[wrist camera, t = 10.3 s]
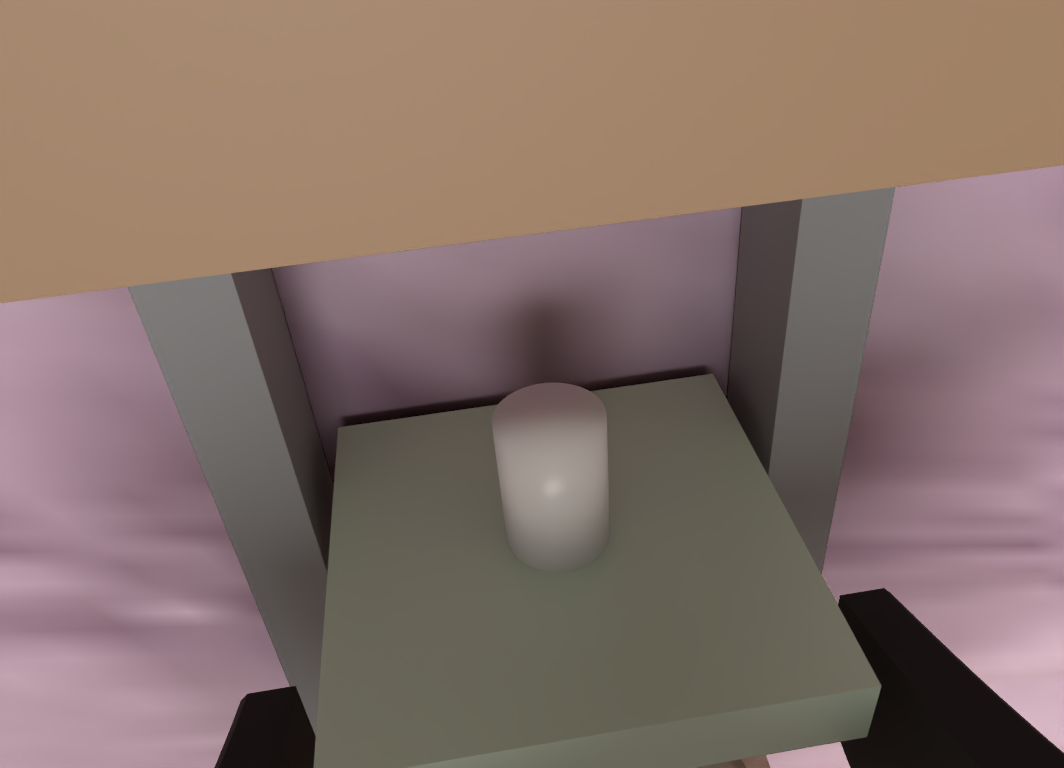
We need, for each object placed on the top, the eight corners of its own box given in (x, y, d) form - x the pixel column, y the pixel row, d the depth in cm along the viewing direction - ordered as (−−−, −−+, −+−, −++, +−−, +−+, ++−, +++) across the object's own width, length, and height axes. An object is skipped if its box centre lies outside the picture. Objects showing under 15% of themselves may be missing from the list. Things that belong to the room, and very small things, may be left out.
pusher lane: (775, 618, 19) (977, 1060, 12) (319, 693, 18) (283, 1201, 12) (908, -271, 10) (1981, -355, 3) (-12, -187, 9) (-1046, -71, 2)
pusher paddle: (709, 420, 15) (866, 736, 10) (350, 473, 14) (332, 830, 10) (719, 267, 13) (917, 561, 8) (309, 322, 13) (262, 667, 8)
